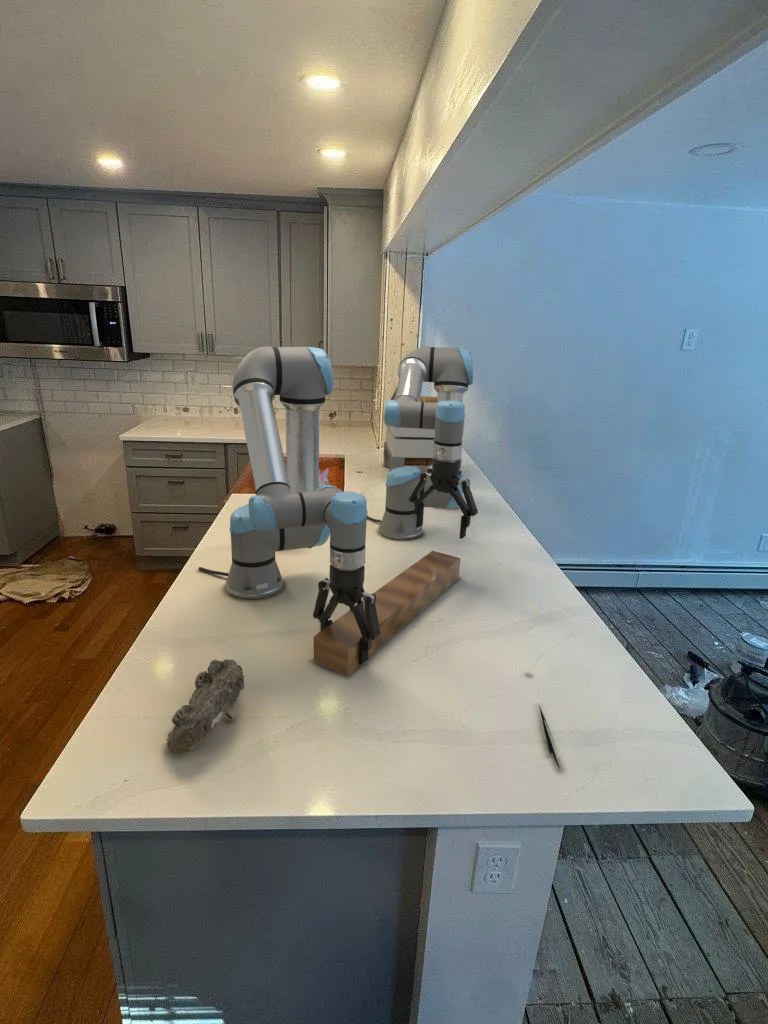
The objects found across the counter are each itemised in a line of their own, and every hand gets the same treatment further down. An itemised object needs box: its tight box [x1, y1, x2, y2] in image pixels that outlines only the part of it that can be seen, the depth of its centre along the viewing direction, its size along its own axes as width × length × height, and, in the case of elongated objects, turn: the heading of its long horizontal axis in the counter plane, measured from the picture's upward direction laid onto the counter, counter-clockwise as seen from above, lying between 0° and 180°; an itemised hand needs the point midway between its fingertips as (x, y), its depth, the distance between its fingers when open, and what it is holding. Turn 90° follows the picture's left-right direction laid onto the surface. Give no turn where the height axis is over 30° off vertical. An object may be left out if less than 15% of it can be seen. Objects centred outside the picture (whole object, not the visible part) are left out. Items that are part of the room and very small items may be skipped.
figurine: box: [319, 467, 330, 488], centre depth 222 cm, size 9×10×15 cm
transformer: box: [383, 387, 465, 472], centre depth 268 cm, size 34×33×41 cm
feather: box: [528, 673, 561, 769], centre depth 112 cm, size 2×28×2 cm
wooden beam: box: [313, 550, 461, 677], centre depth 146 cm, size 58×9×7 cm, turn 149°
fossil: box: [166, 658, 245, 754], centre depth 106 cm, size 22×10×15 cm
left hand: (345, 654), depth 129 cm, fingers closed on wooden beam, 9 cm apart
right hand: (440, 531), depth 161 cm, fingers open, 13 cm apart
